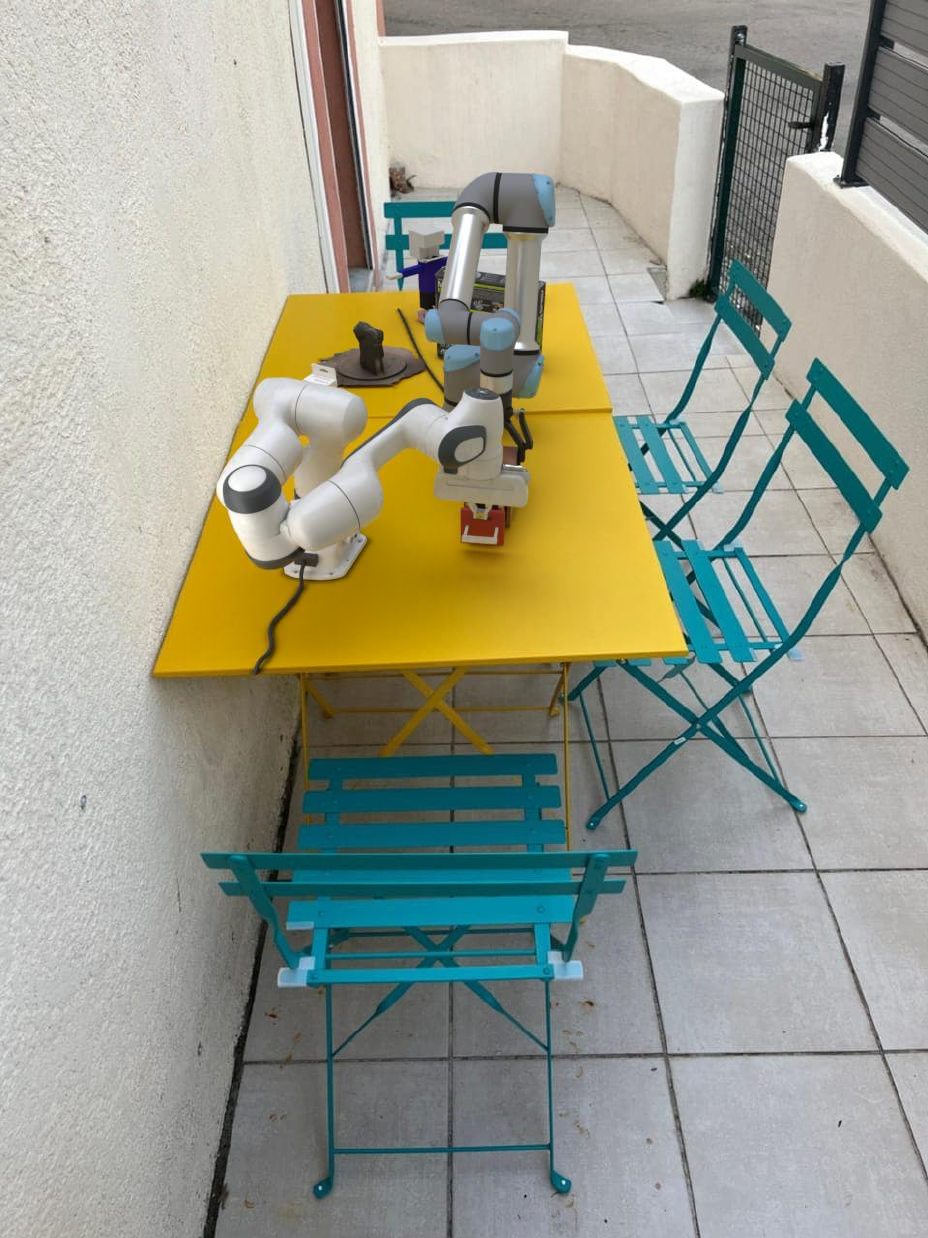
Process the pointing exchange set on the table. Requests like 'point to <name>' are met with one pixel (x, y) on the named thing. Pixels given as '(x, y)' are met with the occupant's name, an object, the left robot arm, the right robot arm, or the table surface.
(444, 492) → the left robot arm
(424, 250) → the toy
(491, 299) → the box
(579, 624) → the table surface
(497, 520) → the drawer
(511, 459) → the cabinet
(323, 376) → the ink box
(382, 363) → the sculpture
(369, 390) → the table surface
